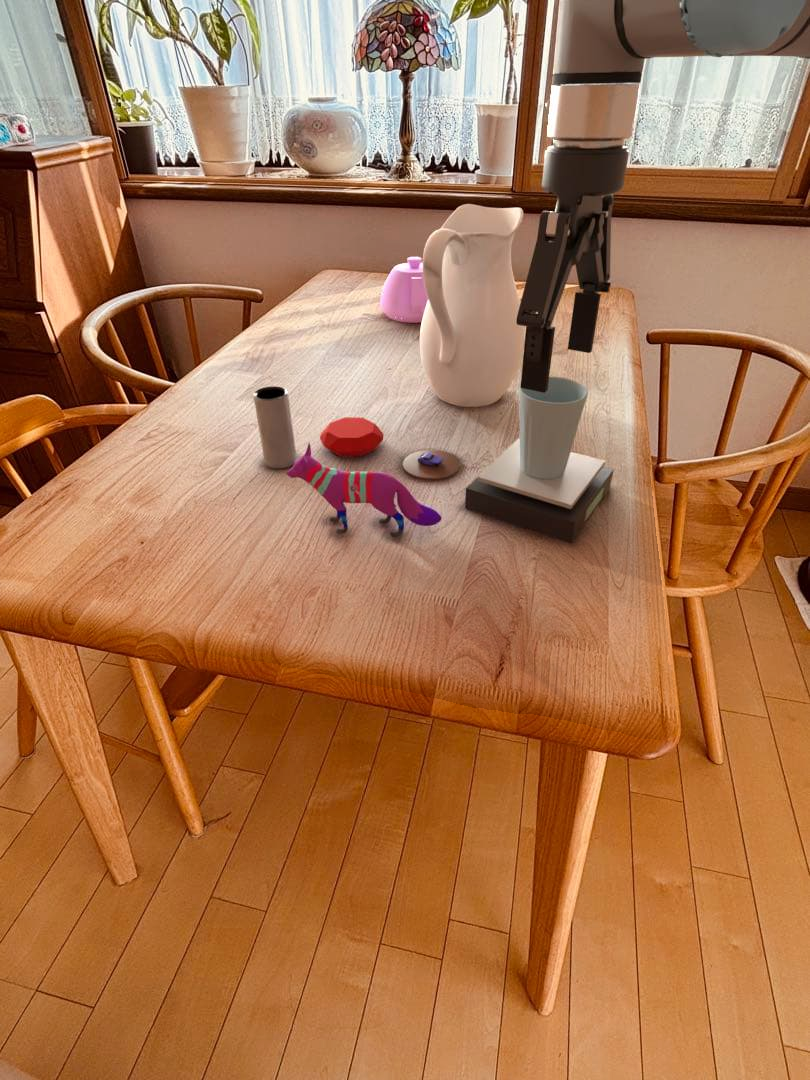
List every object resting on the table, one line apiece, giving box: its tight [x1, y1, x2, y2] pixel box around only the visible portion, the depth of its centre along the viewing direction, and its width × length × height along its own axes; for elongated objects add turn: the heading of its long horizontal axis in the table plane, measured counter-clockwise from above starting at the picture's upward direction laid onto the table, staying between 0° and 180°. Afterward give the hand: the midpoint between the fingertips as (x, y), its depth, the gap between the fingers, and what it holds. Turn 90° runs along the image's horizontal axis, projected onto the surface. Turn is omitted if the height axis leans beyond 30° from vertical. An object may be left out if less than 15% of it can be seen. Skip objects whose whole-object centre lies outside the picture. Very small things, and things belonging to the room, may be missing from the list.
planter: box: [252, 385, 298, 469], centre depth 86 cm, size 4×4×10 cm
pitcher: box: [419, 203, 526, 408], centre depth 96 cm, size 24×17×28 cm
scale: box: [464, 437, 615, 544], centre depth 79 cm, size 14×14×4 cm
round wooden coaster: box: [402, 449, 462, 482], centre depth 87 cm, size 8×8×2 cm
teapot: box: [379, 256, 428, 324], centre depth 140 cm, size 22×16×12 cm
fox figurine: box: [285, 442, 443, 538], centre depth 72 cm, size 4×18×10 cm, turn 85°
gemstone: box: [319, 416, 385, 458], centre depth 91 cm, size 9×9×3 cm
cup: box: [518, 376, 589, 479], centre depth 74 cm, size 8×8×10 cm
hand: (558, 368), depth 69 cm, fingers open, 13 cm apart
